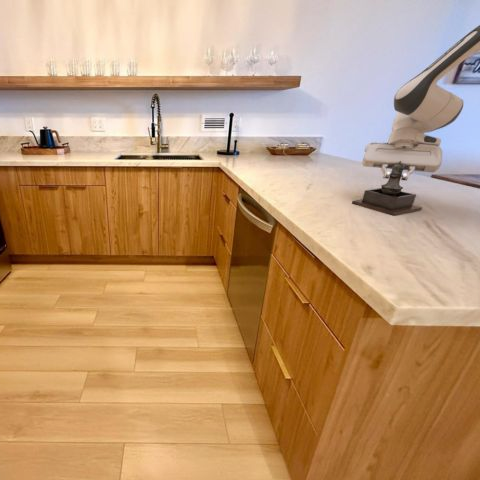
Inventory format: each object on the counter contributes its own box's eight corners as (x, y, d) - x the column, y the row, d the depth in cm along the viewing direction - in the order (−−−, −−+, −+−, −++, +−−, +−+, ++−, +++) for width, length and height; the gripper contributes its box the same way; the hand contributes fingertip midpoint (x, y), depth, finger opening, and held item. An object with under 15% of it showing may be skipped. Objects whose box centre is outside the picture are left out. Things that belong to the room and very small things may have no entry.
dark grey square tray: (421, 210, 94) (427, 195, 92) (394, 215, 89) (399, 200, 87) (377, 199, 106) (382, 185, 104) (351, 203, 101) (355, 189, 99)
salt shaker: (381, 198, 95) (392, 161, 90) (375, 194, 100) (386, 158, 95) (402, 200, 93) (415, 162, 88) (395, 195, 98) (408, 159, 93)
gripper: (368, 135, 99) (359, 169, 96) (448, 139, 88) (440, 176, 85) (365, 148, 104) (355, 179, 101) (439, 152, 93) (432, 188, 90)
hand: (395, 178), depth 93 cm, fingers closed on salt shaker, 3 cm apart
